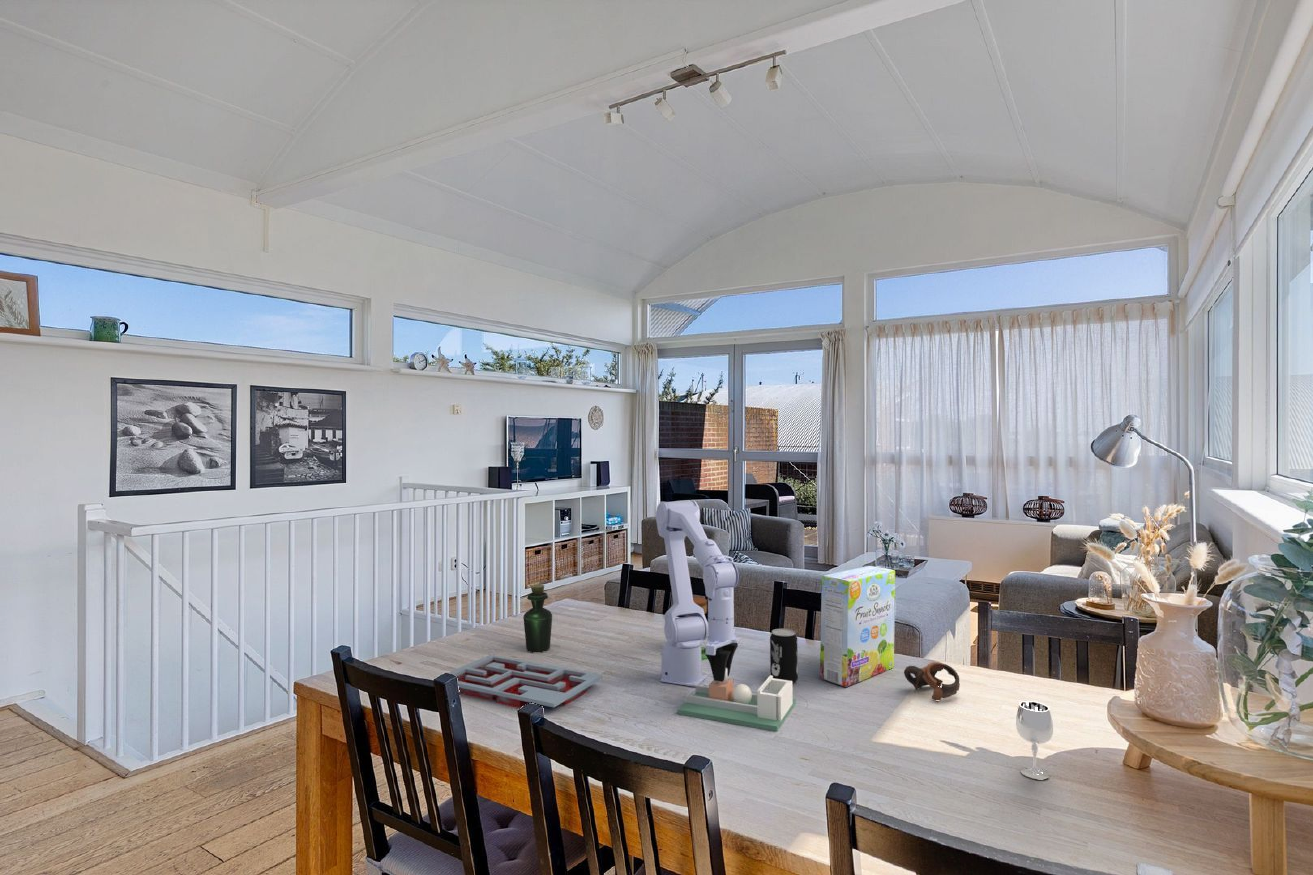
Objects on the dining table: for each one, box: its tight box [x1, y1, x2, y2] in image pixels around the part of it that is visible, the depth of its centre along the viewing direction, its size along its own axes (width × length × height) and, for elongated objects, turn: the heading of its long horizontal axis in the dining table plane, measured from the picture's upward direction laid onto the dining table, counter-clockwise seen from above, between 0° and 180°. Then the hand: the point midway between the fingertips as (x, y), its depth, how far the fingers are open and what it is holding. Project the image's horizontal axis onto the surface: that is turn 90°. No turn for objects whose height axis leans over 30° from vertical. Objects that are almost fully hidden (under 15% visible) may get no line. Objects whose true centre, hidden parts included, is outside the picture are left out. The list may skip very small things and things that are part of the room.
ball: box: [732, 683, 753, 704], centre depth 151 cm, size 4×4×4 cm
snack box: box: [819, 565, 896, 688], centre depth 173 cm, size 22×9×26 cm, turn 131°
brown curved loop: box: [903, 661, 961, 701], centre depth 159 cm, size 12×10×8 cm
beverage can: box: [769, 628, 799, 685], centre depth 169 cm, size 7×7×12 cm
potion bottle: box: [523, 584, 553, 653], centre depth 195 cm, size 8×8×18 cm
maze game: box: [448, 654, 604, 709], centre depth 165 cm, size 35×20×3 cm, turn 62°
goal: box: [756, 674, 794, 721], centre depth 148 cm, size 5×10×6 cm, turn 155°
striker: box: [708, 668, 735, 701], centre depth 153 cm, size 4×5×7 cm
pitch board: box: [677, 684, 797, 732], centre depth 152 cm, size 22×16×2 cm
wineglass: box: [1015, 700, 1054, 775], centre depth 121 cm, size 6×6×12 cm
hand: (721, 678), depth 153 cm, fingers closed on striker, 3 cm apart
